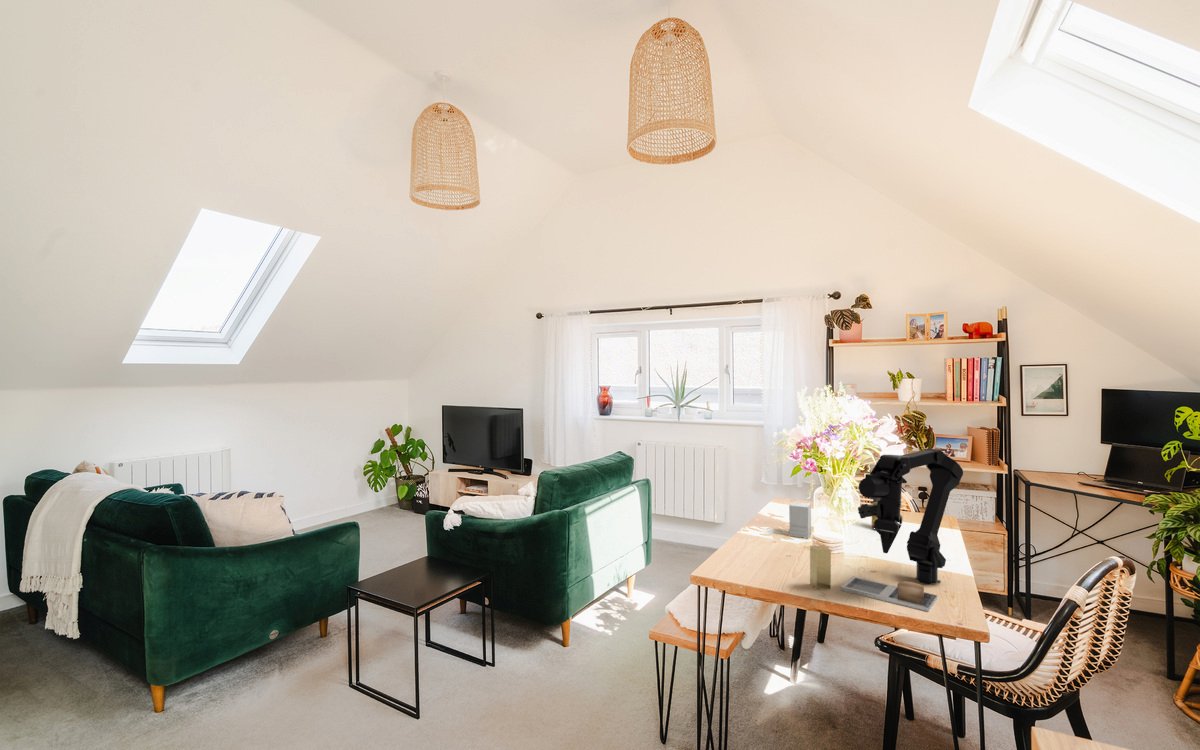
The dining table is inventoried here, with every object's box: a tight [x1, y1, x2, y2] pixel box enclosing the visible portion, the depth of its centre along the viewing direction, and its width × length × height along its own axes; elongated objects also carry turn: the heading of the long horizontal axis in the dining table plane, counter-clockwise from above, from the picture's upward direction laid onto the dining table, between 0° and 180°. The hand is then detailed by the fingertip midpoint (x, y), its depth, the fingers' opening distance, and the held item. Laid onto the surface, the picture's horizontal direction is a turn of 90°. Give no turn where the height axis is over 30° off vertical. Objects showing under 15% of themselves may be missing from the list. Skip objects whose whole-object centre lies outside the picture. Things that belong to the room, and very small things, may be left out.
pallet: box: [840, 576, 938, 612], centre depth 165 cm, size 12×23×2 cm, turn 49°
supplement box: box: [788, 501, 812, 539], centre depth 229 cm, size 7×7×13 cm
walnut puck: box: [897, 581, 925, 604], centre depth 162 cm, size 7×7×4 cm
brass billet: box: [809, 545, 832, 591], centre depth 174 cm, size 4×4×12 cm
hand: (886, 550), depth 169 cm, fingers open, 9 cm apart
